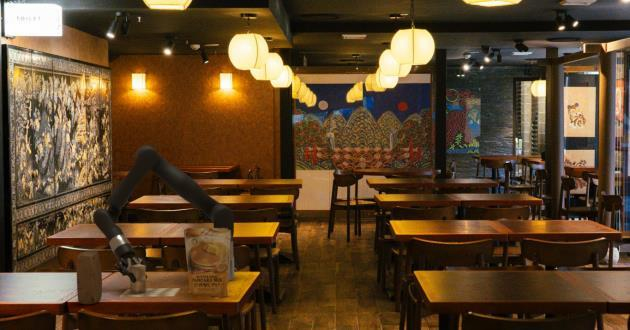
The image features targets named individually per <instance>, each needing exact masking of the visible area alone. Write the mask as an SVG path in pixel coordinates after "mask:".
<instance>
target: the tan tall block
mask: <svg viewBox="0 0 630 330" xmlns="http://www.w3.org/2000/svg"><path fill="white" fill-rule="evenodd" d="M130 267H131V270H132V273H133V274H134V276H135V278H136V279H137V281H136V282H135V283H133V282H131V280H130V279H129V289H130V293H134V294H140V293H145V292H146V289H147V279H146V275H147V272H146V270H147V269H145V265H140V264H138V265H132V266H130Z"/></svg>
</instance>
